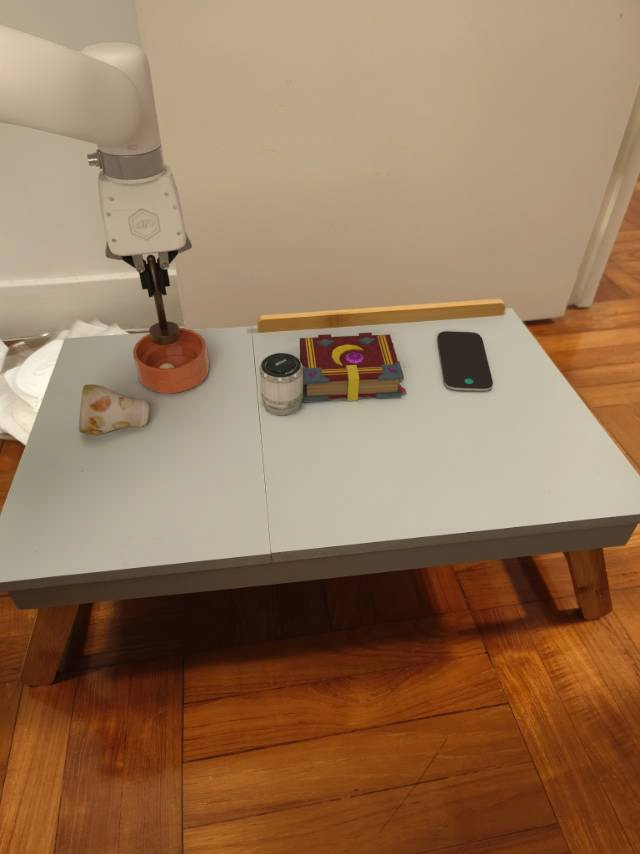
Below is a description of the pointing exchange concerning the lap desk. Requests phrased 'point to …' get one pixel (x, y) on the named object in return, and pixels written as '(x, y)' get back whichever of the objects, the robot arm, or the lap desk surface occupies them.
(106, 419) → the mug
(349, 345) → the decorative book
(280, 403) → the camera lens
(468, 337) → the smartphone
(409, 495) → the lap desk surface
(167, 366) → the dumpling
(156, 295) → the round knob peg
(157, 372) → the bowl
